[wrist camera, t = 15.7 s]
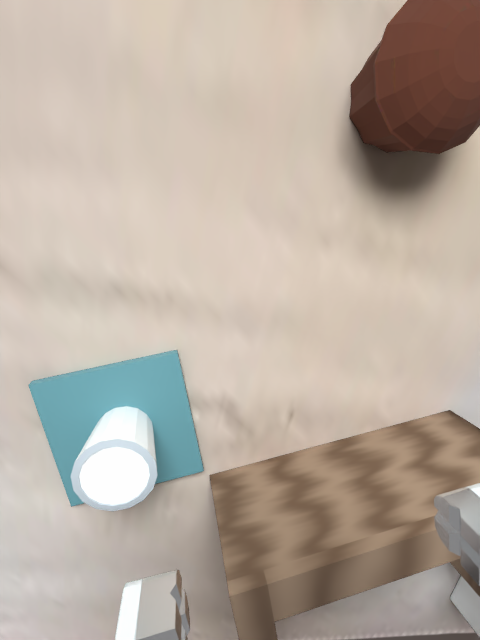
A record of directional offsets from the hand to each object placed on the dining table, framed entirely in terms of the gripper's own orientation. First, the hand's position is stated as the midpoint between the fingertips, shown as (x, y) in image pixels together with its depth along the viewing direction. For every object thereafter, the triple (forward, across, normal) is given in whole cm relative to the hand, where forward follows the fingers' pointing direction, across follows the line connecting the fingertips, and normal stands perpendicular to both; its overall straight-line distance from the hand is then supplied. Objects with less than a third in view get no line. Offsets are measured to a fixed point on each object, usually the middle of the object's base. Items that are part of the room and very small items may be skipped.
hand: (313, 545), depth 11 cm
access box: (+27, -11, +29) cm, 41 cm away
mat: (+26, +12, +9) cm, 30 cm away
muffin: (+28, -20, -18) cm, 39 cm away
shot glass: (+25, +12, +9) cm, 29 cm away
